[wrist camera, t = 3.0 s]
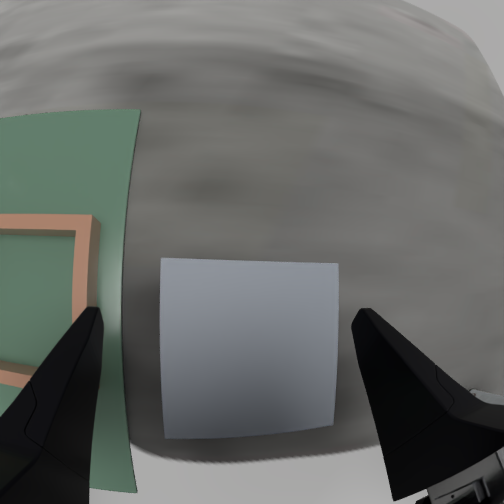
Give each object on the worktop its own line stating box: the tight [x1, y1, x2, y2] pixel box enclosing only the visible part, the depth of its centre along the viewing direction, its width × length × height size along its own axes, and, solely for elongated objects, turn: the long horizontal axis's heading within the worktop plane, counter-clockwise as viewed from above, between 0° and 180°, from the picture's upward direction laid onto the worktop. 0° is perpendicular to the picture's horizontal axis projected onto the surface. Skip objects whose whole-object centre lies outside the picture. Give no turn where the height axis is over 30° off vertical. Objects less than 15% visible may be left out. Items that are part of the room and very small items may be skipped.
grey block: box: [160, 258, 339, 439], centre depth 12 cm, size 5×5×10 cm
